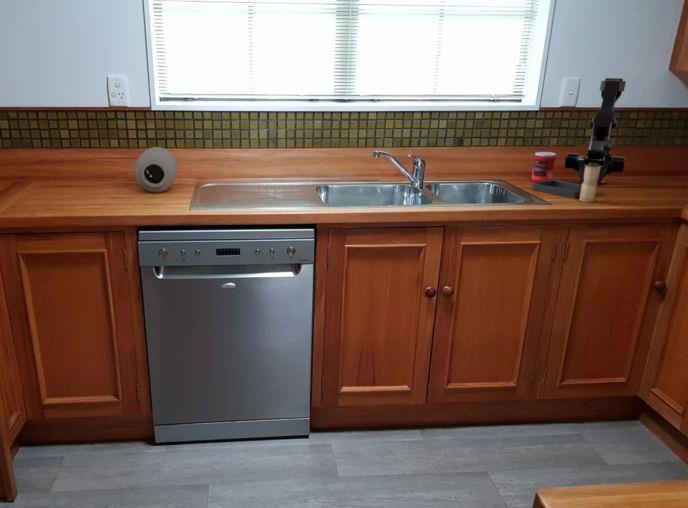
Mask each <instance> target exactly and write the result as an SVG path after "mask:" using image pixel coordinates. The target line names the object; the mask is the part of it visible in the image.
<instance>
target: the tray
mask: <svg viewBox="0 0 688 508" xmlns="http://www.w3.org/2000/svg"><path fill="white" fill-rule="evenodd" d="M581 187H582V184H579V183H575V182H569V181H564V180H559V179H558V180H557V179H551V180H550V181H544V182H535V183H532V189H531V190H532V191H535V192H541V193H547V194H551V195H556V196H560V197H566V198H569V199H570V198H571V199H578V198H580V192H581Z"/></svg>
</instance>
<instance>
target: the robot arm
mask: <svg viewBox="0 0 688 508" xmlns="http://www.w3.org/2000/svg"><path fill="white" fill-rule="evenodd" d="M626 83H627V81H626V80H624V78H623V77H622V78H619V77H605V79H604V80H601V81H600V85H599V91H600V96H601V99H602V101H601V106H600V109H598V110H597V111H596V112H595V116H594V118H592V119H591V122H590V129H592V130H591V138H590V141H589V145H588V147H587V151H586V155H585V156H586V157H585V156H580V154H579V153H575V152H567V154H566V155H565V157H564V158H565V159H564V168H565V169H570V170H571V169H572V170H574V171H576V172H577V173H578V175H579V179H580V183H581V184H582V182H583V177H584V171H585V166H586V165H588V164H589V163H599V166H600V167H601V169H600V174H599V178H598V182H597V186H598V185H602V184H606V181H603V180H604V178H606V176H608V175H610V174H611V175H612V173H618V174H620V173H621V174H622V173H623V172H624V168H625V164H626V158H625V156H615V155H614V156H612V153H611V149H612V146H613V140H610V137H611V135H610V134H611V133H612V131H613V130H614V131H615V129H616V128H617V127H618V121H617V119H615V118H616V112H615V105H616V103H617V102H618V101H619V100H620V99H621V97H622V93H623V92H625V89H626Z"/></svg>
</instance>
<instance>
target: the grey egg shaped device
mask: <svg viewBox="0 0 688 508" xmlns="http://www.w3.org/2000/svg"><path fill="white" fill-rule="evenodd" d="M133 171H134V173H133V174H134V178H135V180H136V183H138V185H139V186H140V187H141V188H142V189H144V190H145V191H147V192H149V193H154V194H155V193H162V192H166V191H167V190H169V189H170V187H172V185H173V184H174V183H175V180H176V177H177V174H178V163H177V160H176V158H175V155H174V154H173V153H172V152H171V151H170V150H168V149H166V148H164V147H160V146H153V147H149V148H147V149H145V150H144V151H143V152H142V153H141V154H140V156H139V158H137V160H136V162H135V165H134V169H133Z"/></svg>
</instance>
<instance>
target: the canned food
mask: <svg viewBox="0 0 688 508" xmlns="http://www.w3.org/2000/svg"><path fill="white" fill-rule="evenodd" d="M556 156H557V154H556V153H555V152H551V151H536V152H535V154H534V158H533V163H532V164H533V166H532V172H531V182H535V183H539V182H544V181H550V180H553V173H554V168H555V162H556Z"/></svg>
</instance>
